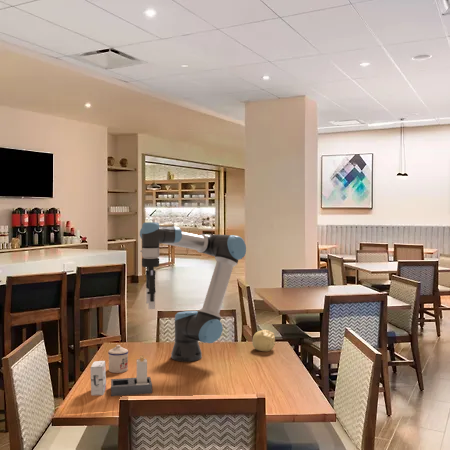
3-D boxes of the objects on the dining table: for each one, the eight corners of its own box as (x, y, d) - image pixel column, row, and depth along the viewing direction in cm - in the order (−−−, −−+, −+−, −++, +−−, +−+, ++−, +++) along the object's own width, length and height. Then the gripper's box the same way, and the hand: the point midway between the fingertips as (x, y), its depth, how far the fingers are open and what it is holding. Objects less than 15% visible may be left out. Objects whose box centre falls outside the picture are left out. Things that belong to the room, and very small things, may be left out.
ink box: (93, 389, 217) (93, 360, 217) (106, 389, 217) (106, 360, 217) (90, 396, 208) (90, 366, 208) (103, 396, 209) (103, 366, 208)
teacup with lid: (123, 374, 237) (123, 348, 236) (104, 372, 239) (104, 347, 239) (134, 366, 248) (134, 341, 248) (116, 364, 251) (116, 340, 250)
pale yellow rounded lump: (272, 353, 271) (273, 333, 271) (250, 352, 275) (250, 331, 274) (276, 348, 282) (277, 328, 282) (255, 346, 286) (255, 326, 285)
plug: (146, 387, 218) (146, 354, 217) (147, 390, 214) (147, 357, 213) (136, 388, 217) (136, 355, 216) (137, 391, 213) (137, 358, 212)
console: (150, 386, 221) (150, 376, 221) (152, 394, 211) (152, 384, 211) (111, 388, 217) (111, 378, 217) (111, 397, 208) (111, 386, 208)
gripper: (140, 255, 242) (140, 301, 242) (143, 260, 217) (143, 311, 218) (156, 255, 243) (156, 300, 244) (162, 260, 219) (161, 311, 220)
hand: (150, 306), depth 231 cm, fingers open, 13 cm apart
